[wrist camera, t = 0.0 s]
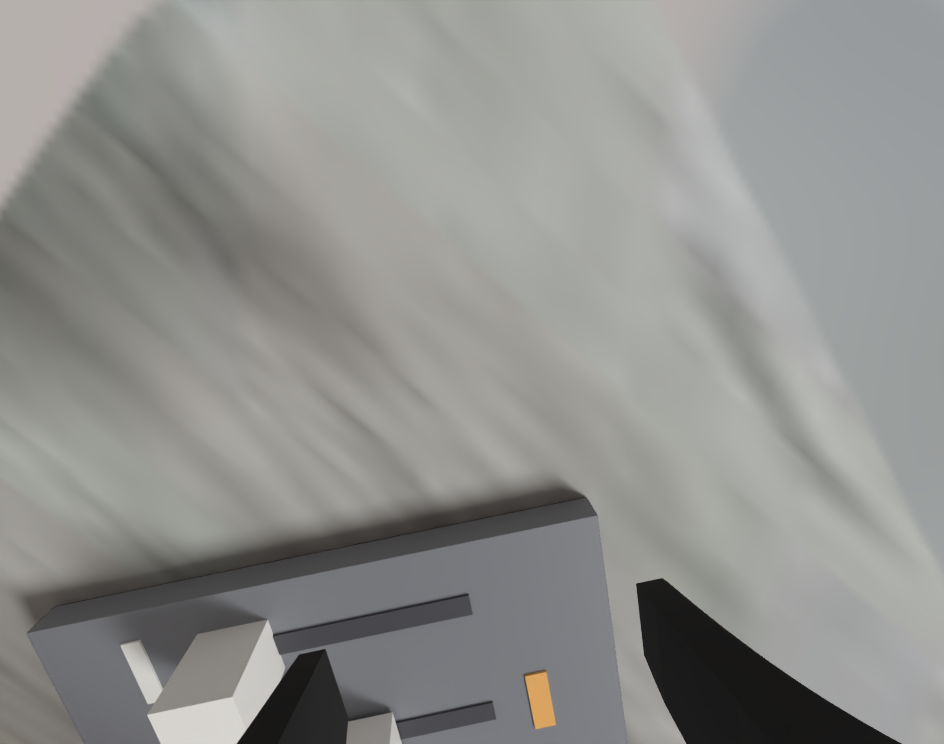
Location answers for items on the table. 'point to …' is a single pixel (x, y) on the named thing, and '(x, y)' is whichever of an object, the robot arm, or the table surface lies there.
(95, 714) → the breaker panel
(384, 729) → the handle
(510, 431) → the table surface
